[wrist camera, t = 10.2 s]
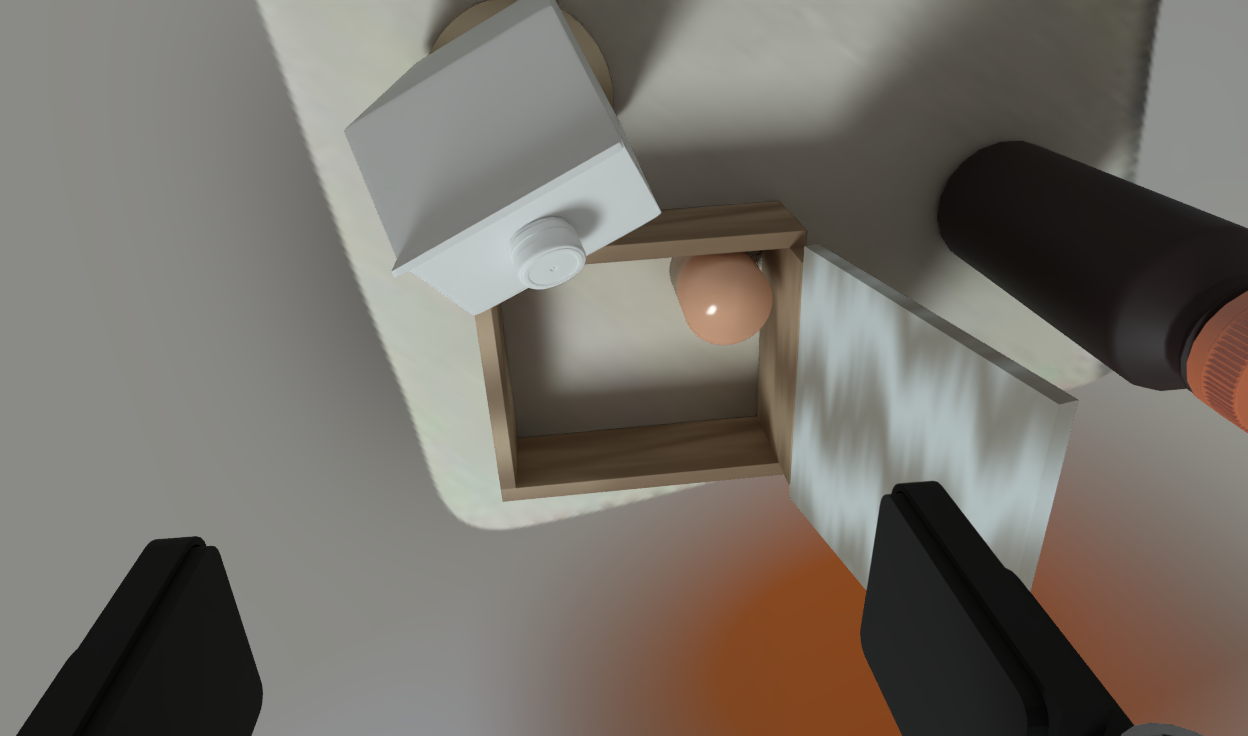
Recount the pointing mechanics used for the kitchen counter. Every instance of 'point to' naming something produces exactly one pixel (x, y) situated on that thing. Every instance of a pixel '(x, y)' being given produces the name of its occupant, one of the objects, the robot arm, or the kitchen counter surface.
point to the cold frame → (821, 402)
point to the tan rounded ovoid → (721, 295)
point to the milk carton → (500, 161)
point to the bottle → (1110, 267)
